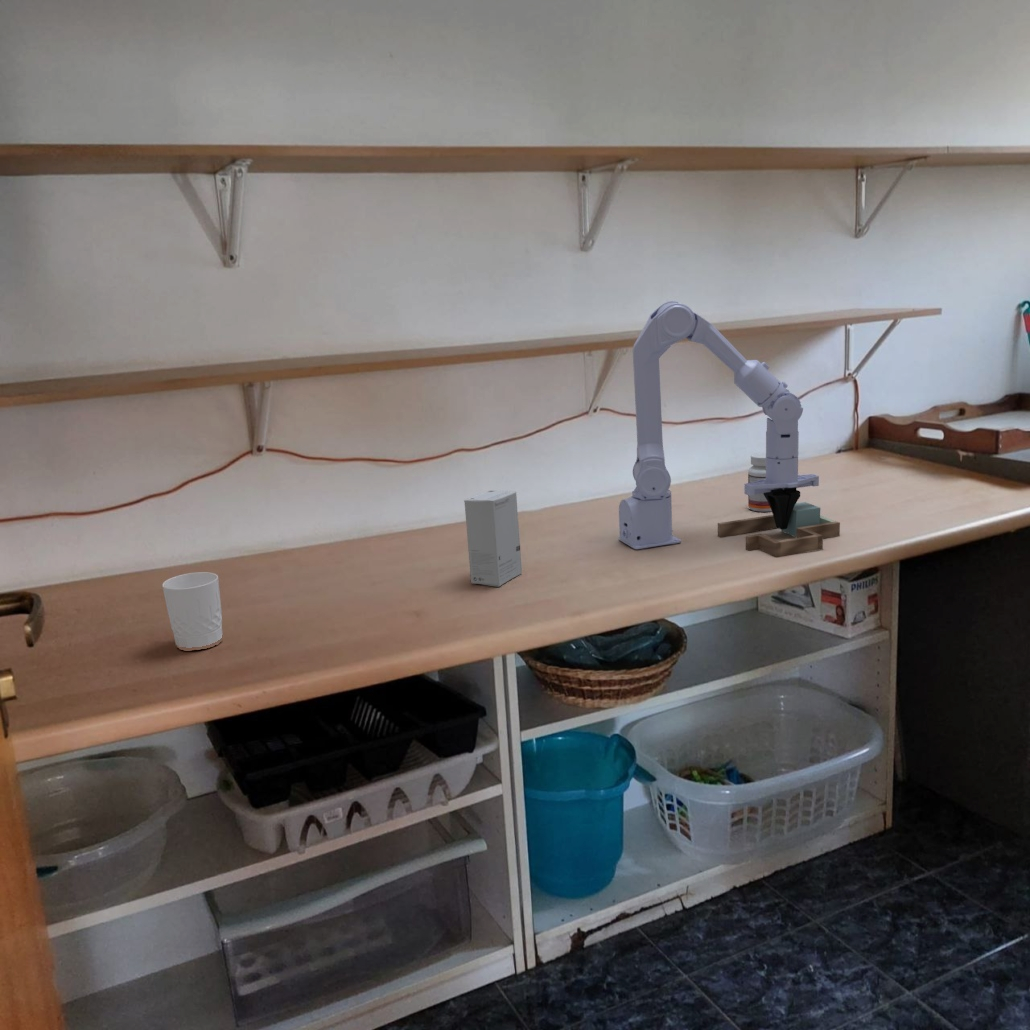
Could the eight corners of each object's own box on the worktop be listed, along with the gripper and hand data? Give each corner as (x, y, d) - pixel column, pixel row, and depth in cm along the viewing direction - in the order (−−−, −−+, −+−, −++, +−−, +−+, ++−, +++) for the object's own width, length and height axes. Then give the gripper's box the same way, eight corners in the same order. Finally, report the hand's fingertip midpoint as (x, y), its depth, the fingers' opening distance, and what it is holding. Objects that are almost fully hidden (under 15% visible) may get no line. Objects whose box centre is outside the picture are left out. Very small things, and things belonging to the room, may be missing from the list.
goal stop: (831, 535, 179) (831, 522, 178) (803, 524, 187) (803, 511, 187) (836, 534, 179) (836, 521, 179) (807, 523, 188) (807, 510, 187)
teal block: (796, 537, 179) (796, 511, 178) (781, 530, 184) (781, 505, 183) (819, 533, 180) (820, 507, 179) (804, 527, 185) (805, 502, 184)
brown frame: (765, 558, 168) (765, 544, 167) (717, 535, 183) (717, 523, 183) (858, 543, 173) (859, 529, 173) (804, 522, 189) (804, 509, 188)
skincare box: (499, 588, 162) (493, 501, 158) (468, 584, 165) (462, 499, 161) (523, 573, 169) (518, 489, 165) (493, 569, 172) (488, 487, 168)
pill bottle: (760, 503, 205) (760, 450, 202) (785, 508, 200) (785, 454, 197) (742, 509, 201) (741, 455, 198) (766, 514, 196) (766, 459, 193)
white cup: (232, 632, 149) (224, 570, 147) (219, 651, 142) (209, 586, 139) (181, 635, 149) (171, 573, 147) (165, 655, 141) (154, 590, 139)
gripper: (759, 464, 171) (759, 538, 175) (829, 455, 176) (828, 527, 179) (738, 458, 178) (738, 529, 181) (806, 449, 182) (805, 518, 186)
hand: (781, 527), depth 181 cm, fingers closed
